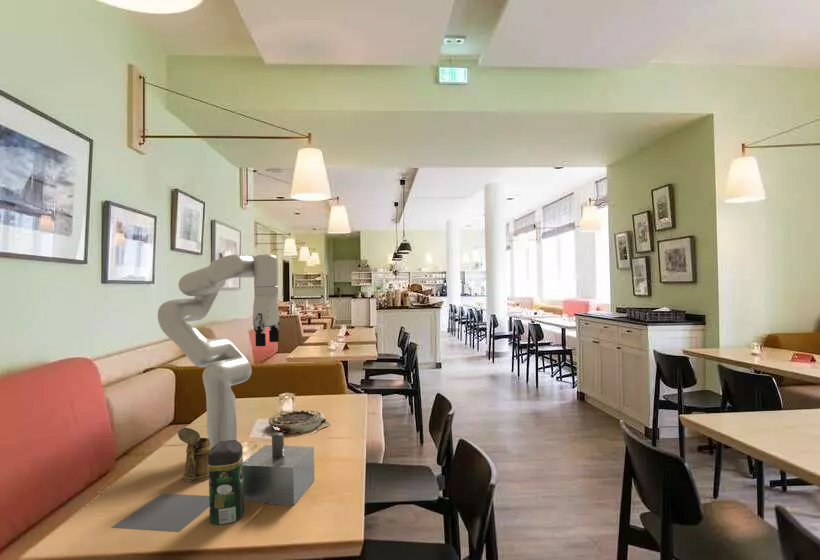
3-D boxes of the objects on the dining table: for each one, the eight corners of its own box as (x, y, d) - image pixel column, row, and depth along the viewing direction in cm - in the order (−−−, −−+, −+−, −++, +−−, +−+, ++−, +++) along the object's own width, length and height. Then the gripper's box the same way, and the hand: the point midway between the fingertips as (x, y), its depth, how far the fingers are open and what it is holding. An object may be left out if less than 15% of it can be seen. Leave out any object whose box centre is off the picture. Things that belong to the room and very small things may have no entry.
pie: (294, 443, 173) (293, 429, 173) (244, 432, 188) (244, 420, 188) (343, 422, 197) (343, 410, 197) (296, 414, 212) (295, 403, 212)
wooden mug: (170, 491, 134) (168, 428, 134) (191, 472, 148) (189, 414, 148) (201, 490, 134) (200, 427, 134) (219, 471, 148) (218, 413, 148)
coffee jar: (214, 510, 123) (212, 438, 123) (246, 506, 124) (244, 436, 124) (205, 529, 113) (203, 452, 113) (240, 525, 115) (238, 449, 115)
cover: (240, 502, 127) (238, 442, 127) (265, 478, 142) (264, 425, 142) (294, 505, 124) (292, 444, 124) (314, 480, 139) (313, 426, 139)
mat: (111, 529, 114) (111, 527, 114) (161, 495, 132) (161, 493, 132) (179, 534, 111) (179, 531, 111) (221, 498, 129) (221, 496, 129)
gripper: (267, 291, 165) (268, 340, 165) (242, 293, 148) (243, 347, 148) (287, 291, 164) (289, 340, 164) (265, 292, 147) (266, 347, 147)
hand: (267, 343), depth 156 cm, fingers open, 9 cm apart
